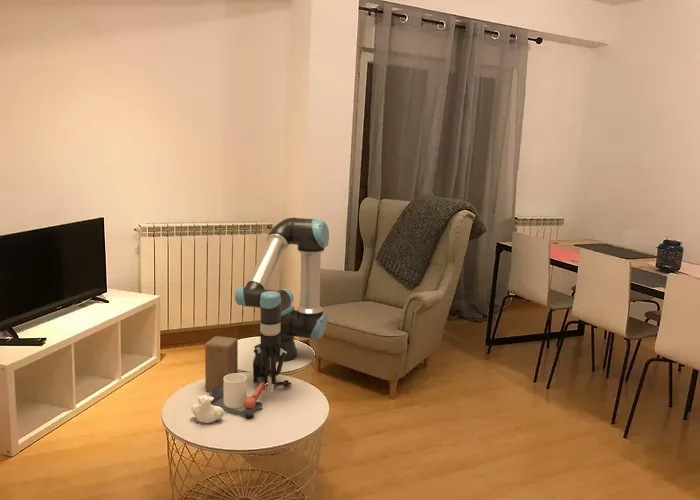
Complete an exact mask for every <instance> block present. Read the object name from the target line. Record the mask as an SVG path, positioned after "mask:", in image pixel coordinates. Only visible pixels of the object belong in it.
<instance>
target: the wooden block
mask: <svg viewBox="0 0 700 500" xmlns="http://www.w3.org/2000/svg"><path fill="white" fill-rule="evenodd" d="M238 340H239V339H238V338H235V337H229V336H228V337H227V336H219V335H216V336H214V337H212V338H211V339H209V340H208V341H207V342H206V343H205V345H204V346H205V348H204V349H205V352H204V354H205V355H204V356H205V357H204V358H205V359H204V361H205V362H204V363H205V366H204V367H205V371H204V372H205V376H204V377H205V383H204V385H205V391H206V392H209V390H211V389H213V388H215V387H217V386H219V385H220V384H222V383H224V377H225V376H226V375H228V374H233V373H238V369H239V367H238V366H239V365H238V361H239V360H238V359H239V358H238V356H239V355H238V346H239V345H238V344H239V343H238Z"/></svg>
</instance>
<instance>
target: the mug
mask: <svg viewBox="0 0 700 500" xmlns="http://www.w3.org/2000/svg"><path fill="white" fill-rule="evenodd" d="M246 396H247V376H246V375H245V374H243V373H238V372H237V373H233V374H228V375H226V376H225V377H224V405H225V406H226V407H228V408H240V407H243V406H244V398H245V397H246Z"/></svg>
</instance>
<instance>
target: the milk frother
mask: <svg viewBox="0 0 700 500" xmlns="http://www.w3.org/2000/svg"><path fill="white" fill-rule="evenodd" d="M260 344H261V343H259V344H258V343H257V345H255V346H254V347H253V348H254V350H255V349H256V348H258V347H259V346H260ZM261 353H262V357H263V361H264V365H265V359H264V354H263V352H262V351H261ZM252 362H253V363H252V371H253V374H252V375H253V382H254V383H255V382H256V383H257V378H258V377H265V375H264V374H261V372H260V368H259V364H258V360H257V356H256V354H255V353H254V358H253V361H252ZM270 372H271V357H270ZM270 374H271V373H270ZM265 381H266V379H265ZM256 383H255V384H256ZM265 384H266V382H265ZM276 385H277V386H283V387H285V386H288V385H289V386H291V385H292V382H291V381H289V379H284V380H283V381H276V382H275V384H274V386H276ZM289 386H288V387H289Z"/></svg>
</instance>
